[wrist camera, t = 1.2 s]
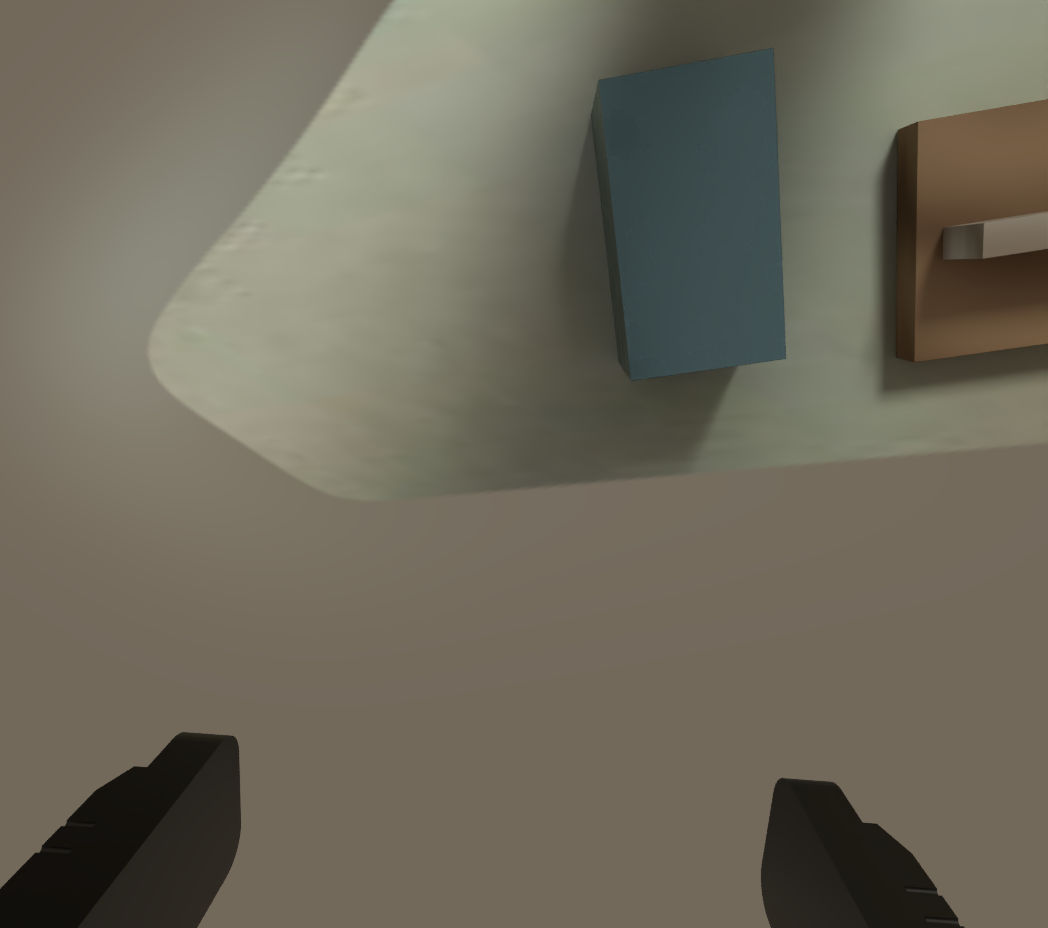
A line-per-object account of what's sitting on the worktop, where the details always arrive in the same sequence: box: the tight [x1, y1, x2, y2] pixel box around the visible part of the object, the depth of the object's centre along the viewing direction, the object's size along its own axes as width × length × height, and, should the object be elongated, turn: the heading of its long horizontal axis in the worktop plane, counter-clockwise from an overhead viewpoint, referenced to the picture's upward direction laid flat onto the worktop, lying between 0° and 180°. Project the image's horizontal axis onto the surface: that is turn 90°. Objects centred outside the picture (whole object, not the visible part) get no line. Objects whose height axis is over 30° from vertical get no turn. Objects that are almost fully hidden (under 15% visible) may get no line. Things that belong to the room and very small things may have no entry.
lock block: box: [591, 48, 786, 381], centre depth 25 cm, size 10×6×5 cm, turn 9°
